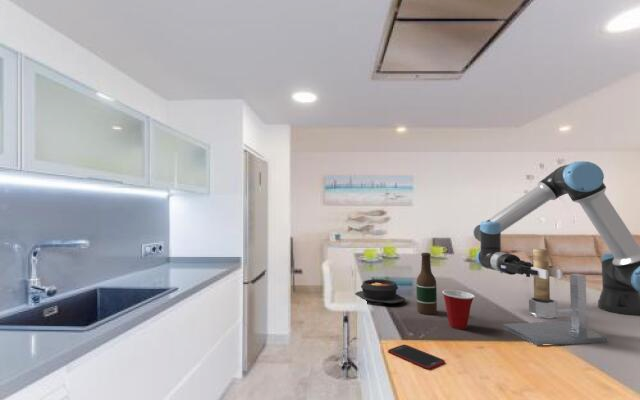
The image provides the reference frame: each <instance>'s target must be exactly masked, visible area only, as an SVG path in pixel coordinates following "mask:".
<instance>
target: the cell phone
mask: <svg viewBox="0 0 640 400" xmlns="http://www.w3.org/2000/svg"><path fill="white" fill-rule="evenodd" d="M387 353H388V354H390V355H393V356H395V357H397V358H398V359H401V360H404V361H405V362H409V363H411V364H412V365H415V366H417V367H419V368H421V369H424V370H427V371H431V370H434V369H436V368H439V367H441V366H443V365H445V364H446V361H445V359H443V358H440V357H438V356H436V355H433V354H430V353H428V352H426V351H422V350H421V349H419V348H415V347H413V346H411V345H408V344H401V345H398V346H395V347H392V348H390V349H387Z"/></svg>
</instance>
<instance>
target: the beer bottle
mask: <svg viewBox="0 0 640 400" xmlns="http://www.w3.org/2000/svg"><path fill="white" fill-rule="evenodd" d="M420 256H421V265H420V269H421V270H420V272H419V274H418V275H417V279H416V311H417V312H418V313H419V314H420V315H426V316H427V315H428V316H430V315H431V316H432V315H436V314H437V312H438V311H437V309H438V302H437V301H438V300H437V292H438V291H437V289H438V288H437V281H436V277H435V276H434V274H433V272H432V265H431V252H422V253H421V254H420Z"/></svg>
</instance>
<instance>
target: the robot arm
mask: <svg viewBox="0 0 640 400" xmlns="http://www.w3.org/2000/svg"><path fill="white" fill-rule="evenodd" d="M604 178H605V174H604V171H603V170H602V168H601V167H600V166H599V165H598V164H596V163H593V162H591V161H584V160H583V161H574V162H571V163H569V164H566V165H562V166H561V165H560V166H559V167H557V168H556V169H555V170H553V171H552V172H550V173H549V174H548V175H547V176H545V177H544V178H543V179H541V181H539V182H537V186H536V187H534V188H533V189H532V190H530V191H528V192H527V193H525V194H524V195H523V196H520V197H518V199H516V200H515V201H514V202H512V203H511V204H509V205H508V206H506V207H505V208H503V209H501V210H500V211H499V212H497V213H496V214H494V215H493V216H492V217H490V218H489V219H487V220H486V221H481V222H480V224H478V225H476V226H475V227H474V228H473V231H472V233H473V237H474V238H475V239H476V240H477V241H479V242H480V250H478V251H477V253H476V255H475V261H476V263H477V264H478V266H481V267H483V268H485V269H489V270H493V271H497V272H499V273H500V274H503V273H504V274H507V275H510V276H513V275H521V276H523V275H525V277H527V278H530V277H531V276H532V277H534V276H536V277H540V278H543V279H548V270H544V269H539V268H535V267H533V261H532V262H530V261H525V260H521V258H520V257H519V256H518V255H515V254H512V253H507V252H502V250H501V249H502V247H501V246H502V243H501V242H502V241H501V238H502V236H501V234H502V232H504V231H506V230H507V229H508V228H510V227H512V226H513V225H514V224H516V223H518V222H519V221H521V220H522V219H524V218H525V217H526V216H528V215H530V214H531V213H532V212H534V211H535V210H537V209H539V208H540V207H542V206H543V205H545V204H546V203H547V202H549V201H555V200H557V199H558V198H560V197H562V196H564V195H568V196H569V198H570V199H571V201H572V202H573V203H577V204H579V205H580V206H581V208H582V210H583V211H584V213H585V214H586V215H587V217H588V219H589V221H590V222H591V224H592V225H593V226H594V228H595V230H596V231H597V233H598V235H599V236H600V237H601V239H602V240H603V242H604V243H605V245H606V246H607V248H608V250H609V251H610V253H603V254H602V256H601V261H600V263H601V274H602V275H601V279H602V280H601V281H602V282H601V283H602V290H601V293H600V295H599V299H598V300H597V307H598V308H599V309H601V310H603V311H607V312H612V313H617V314H623V315H632V316H640V245H639V243H638V242H637V240H636V239H635V237H634V235H632V234H633V233H632V232H631V231H630V230H629V228H628V227H627V225H626V224H625V222H624V221H623V219H622V218H621V216H620V215H619V213H618V212H617V210H616V209H615V207H614V205H613V204H612V202H611V201H610V199H609V198H608V196H607V194H606V193H605V192H606V190H607V186H606V184H605V182H604ZM563 276H564V275H563V269H558V268H555V267H553V266H552V265H549V277H552V278H556V279H563V278H564V277H563Z"/></svg>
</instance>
